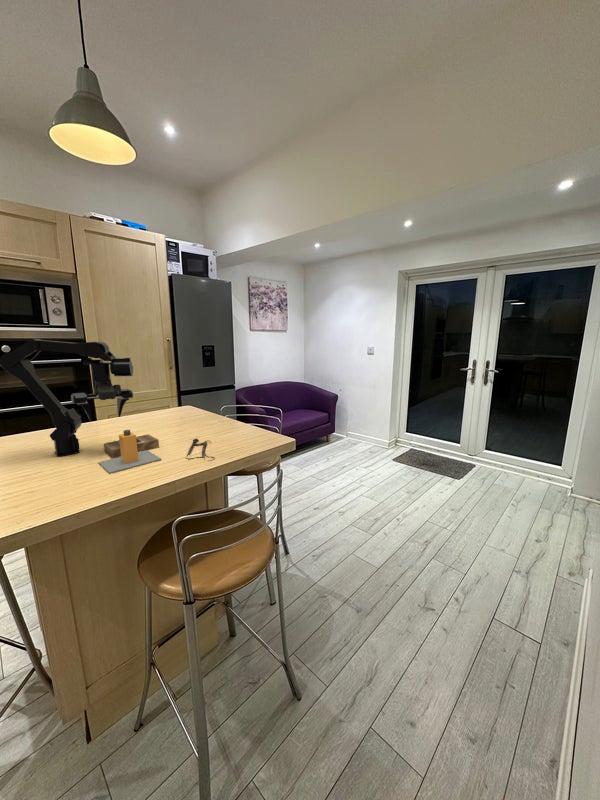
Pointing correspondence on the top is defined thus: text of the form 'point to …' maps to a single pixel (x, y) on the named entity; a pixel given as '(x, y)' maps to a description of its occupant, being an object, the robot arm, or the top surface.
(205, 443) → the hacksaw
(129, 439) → the plug
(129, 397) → the robot arm
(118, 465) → the mat
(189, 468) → the top surface
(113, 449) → the socket block
